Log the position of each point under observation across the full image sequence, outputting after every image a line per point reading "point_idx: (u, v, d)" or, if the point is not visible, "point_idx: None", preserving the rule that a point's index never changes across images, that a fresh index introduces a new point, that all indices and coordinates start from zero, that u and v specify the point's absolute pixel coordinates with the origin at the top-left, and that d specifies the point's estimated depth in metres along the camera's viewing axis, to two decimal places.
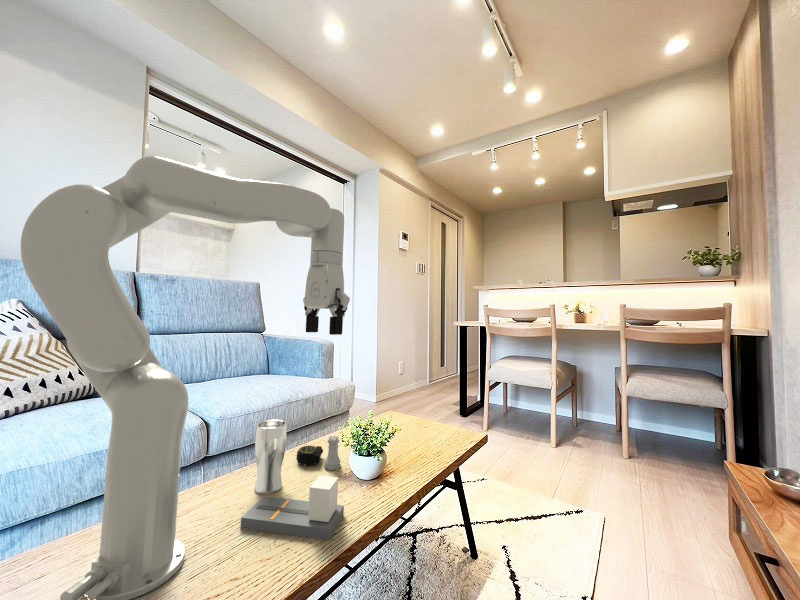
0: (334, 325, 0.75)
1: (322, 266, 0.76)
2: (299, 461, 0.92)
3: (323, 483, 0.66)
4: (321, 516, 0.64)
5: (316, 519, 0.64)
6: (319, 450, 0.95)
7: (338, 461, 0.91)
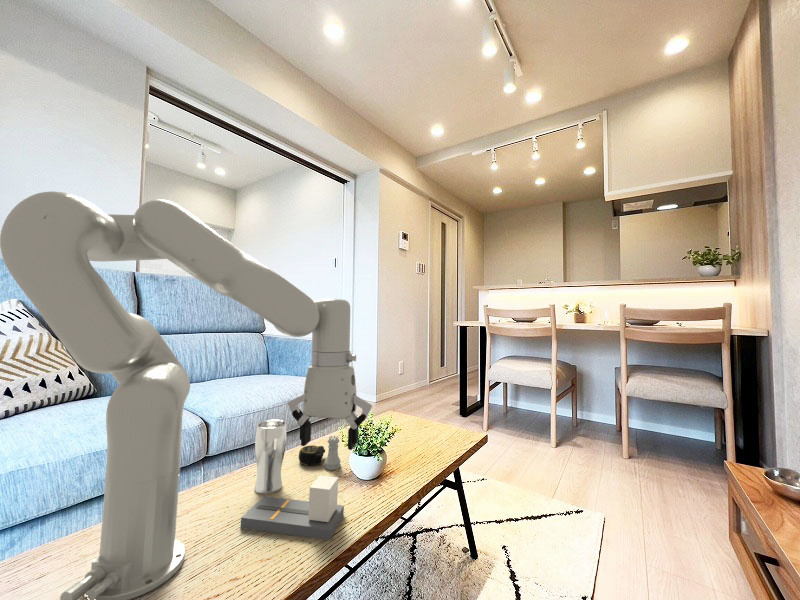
0: None
1: None
2: (301, 461, 0.92)
3: (323, 483, 0.66)
4: (321, 516, 0.64)
5: (316, 519, 0.64)
6: (321, 450, 0.95)
7: (338, 461, 0.91)
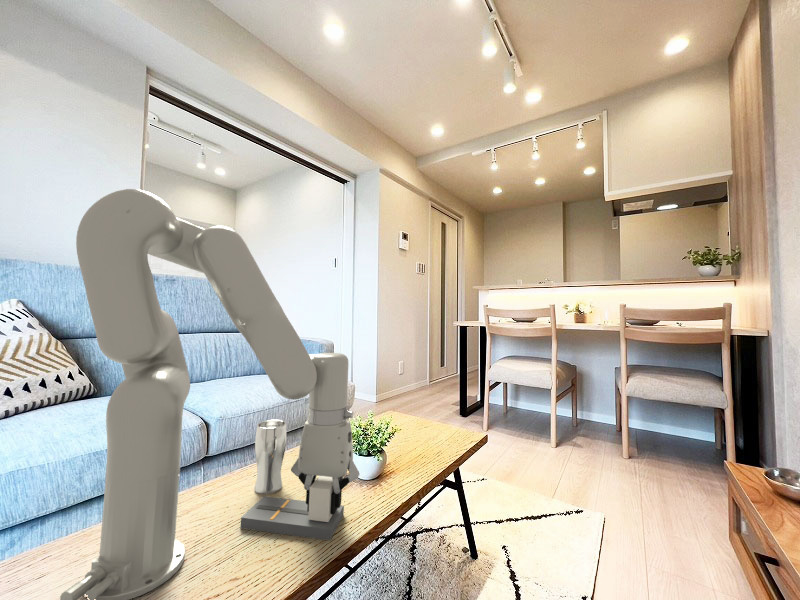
0: None
1: None
2: None
3: (323, 483, 0.66)
4: (321, 516, 0.64)
5: (316, 519, 0.64)
6: None
7: None
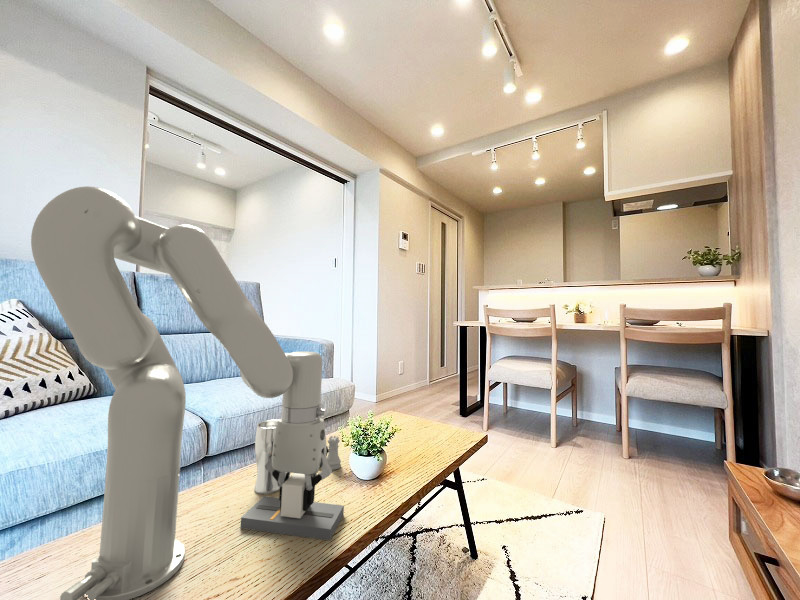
0: None
1: None
2: None
3: (296, 480, 0.67)
4: (293, 512, 0.64)
5: (288, 515, 0.65)
6: None
7: (338, 461, 0.91)
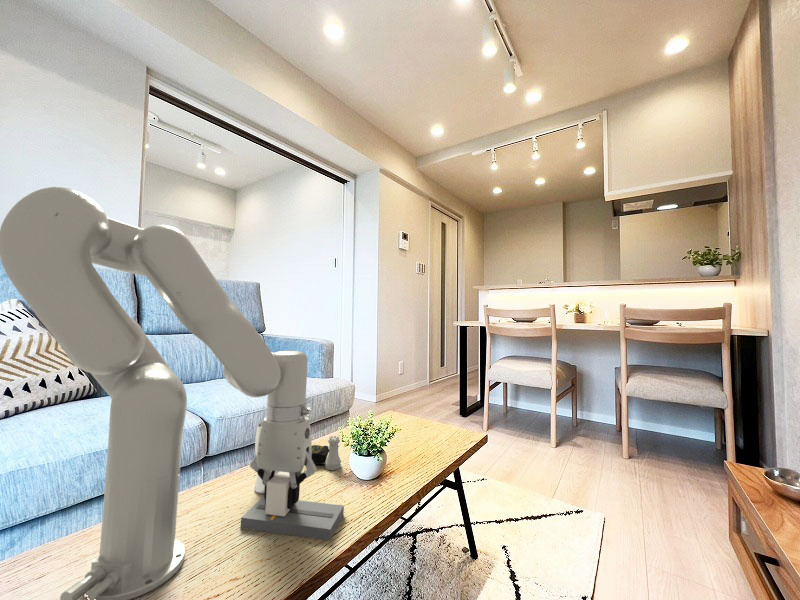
0: None
1: None
2: None
3: (281, 478, 0.67)
4: (278, 510, 0.65)
5: (273, 513, 0.65)
6: (326, 450, 0.96)
7: (338, 461, 0.91)
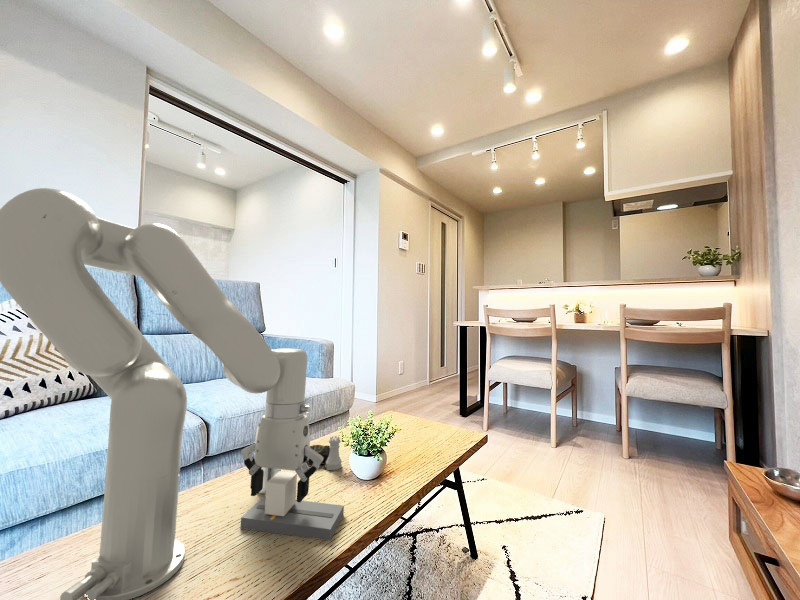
0: None
1: None
2: None
3: (280, 478, 0.67)
4: (277, 510, 0.65)
5: (272, 513, 0.65)
6: (327, 449, 0.96)
7: (339, 461, 0.91)
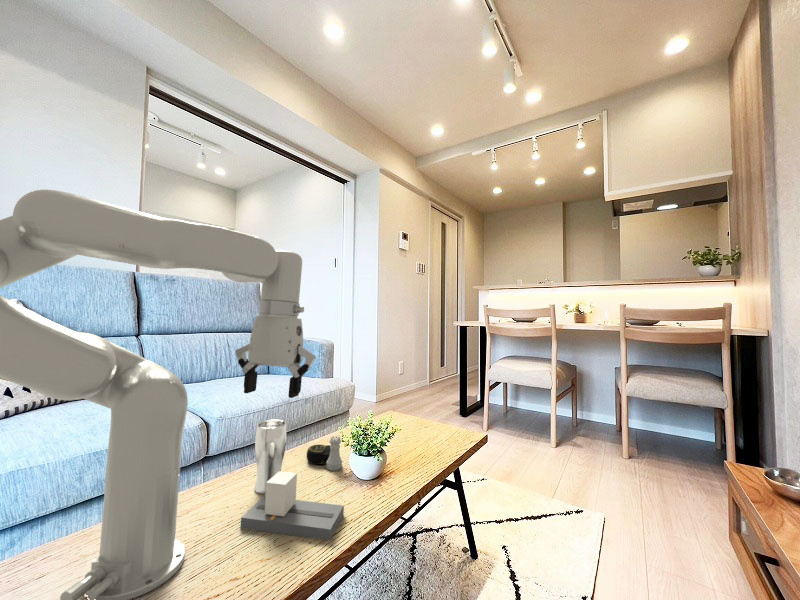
0: None
1: None
2: (309, 460, 0.93)
3: (280, 478, 0.67)
4: (277, 510, 0.65)
5: (272, 513, 0.65)
6: (329, 449, 0.96)
7: (340, 462, 0.91)
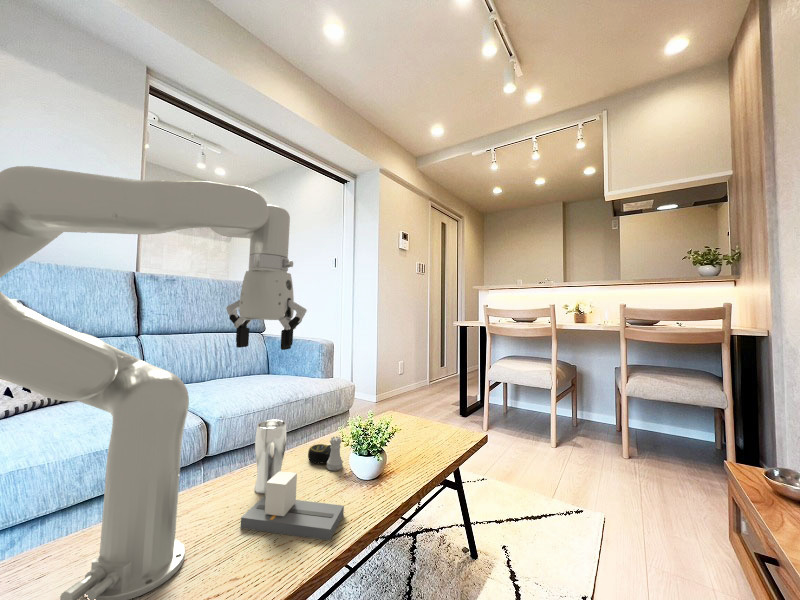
0: None
1: None
2: (310, 459, 0.93)
3: (280, 478, 0.67)
4: (277, 510, 0.65)
5: (272, 513, 0.65)
6: (330, 449, 0.96)
7: (340, 462, 0.91)
